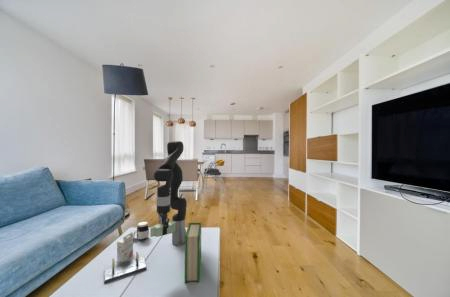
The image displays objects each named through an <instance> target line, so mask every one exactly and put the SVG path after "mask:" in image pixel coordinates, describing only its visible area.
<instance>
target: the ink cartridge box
mask: <svg viewBox="0 0 450 297" xmlns="http://www.w3.org/2000/svg"><path fill="white" fill-rule="evenodd" d="M133 233H134V231H132V232H130V233H128V234H127V235H125V236H123V237H122V238H121V239H119V240H118V241H117V242H116V261H118V262H126V260H128V259H129V258H131V256H133V255H134V239H133Z"/></svg>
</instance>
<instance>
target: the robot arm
mask: <svg viewBox="0 0 450 297" xmlns="http://www.w3.org/2000/svg"><path fill="white" fill-rule="evenodd" d="M184 147H185V146H184V143H183V142H182V141H180V140H177V141H176V140H175V141H170V140H169V141H168V142H167V144H166V150H167V152H166V153H167V156H166V157H165V158H164V160H163V162H162V164H160V166H158V167H157V168H156V170H155V171H154V172H153V179H154V181H156V182H165V184H161V185H159V186H158V187H157V194H156V213H157V214H158V223H159V224H162V228H163V236H167V235H168V234H167V228H168V226H169V222H170V217H169V215H168V213H170V212H171V210H173V211H174V210H175V211H177V213H175V214H173V215H172V222H171V223H173V222H175V223H176V225H175V231H173V232H172V233H171V244H172V245H173V246H182V245H183V244H184V245H185V235H186V232H187V229H186V215H187V199H186V198H185V197H180V196H179V189H180V186H181V185H182V183H183V181H184V178H183V169H182V168H181V167H180V166H179V164H178V162H177V161H178V159H179V158H180V157H181V155H182V154H183V152H184ZM165 225H166V226H165ZM166 234H167V235H166Z"/></svg>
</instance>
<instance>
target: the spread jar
mask: <svg viewBox="0 0 450 297" xmlns="http://www.w3.org/2000/svg"><path fill="white" fill-rule="evenodd" d="M148 223H149V222H147V221H142V222H141V221H140V222H139V223H138V224H137V226H136V229H134V231H133V240H134V238H135V236H136V239H137V241H145V240H147V239H148V238H149V237H150V227H149V225H148Z"/></svg>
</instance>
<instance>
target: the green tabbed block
mask: <svg viewBox="0 0 450 297" xmlns="http://www.w3.org/2000/svg"><path fill="white" fill-rule="evenodd" d="M175 225H176V223H175V222H173V223H172V222H171V221H169V226H168V228H167V234H166V235H165V236H167V235H170V234H171V235H172V232H173V231H175ZM165 226H166V225H165ZM162 236H164V235H163V228H162V224H160V223H159V224H155V225H154V226H151V227H149V237H150V238H153V237H156V238H159V237H162Z"/></svg>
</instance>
